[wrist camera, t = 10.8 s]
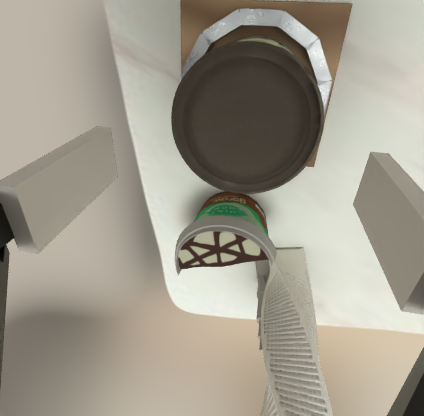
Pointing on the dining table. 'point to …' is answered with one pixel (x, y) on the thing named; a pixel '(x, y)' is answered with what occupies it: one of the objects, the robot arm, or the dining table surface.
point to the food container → (225, 234)
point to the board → (271, 28)
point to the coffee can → (248, 116)
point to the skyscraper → (289, 338)
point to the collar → (267, 19)
